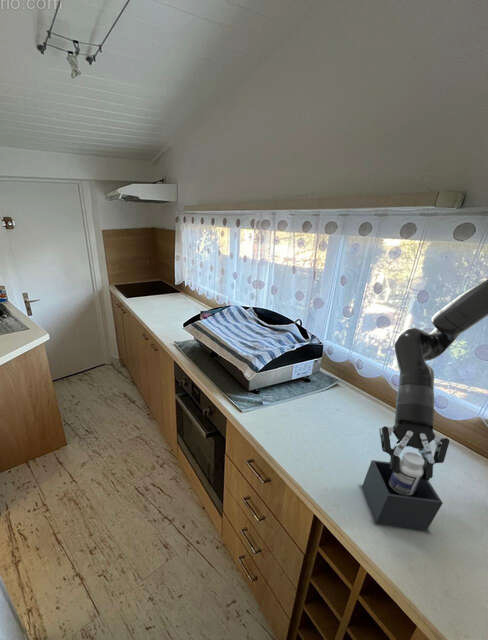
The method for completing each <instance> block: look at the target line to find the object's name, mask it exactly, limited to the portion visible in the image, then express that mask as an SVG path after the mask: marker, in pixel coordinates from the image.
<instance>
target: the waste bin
mask: <svg viewBox="0 0 488 640" xmlns="http://www.w3.org/2000/svg"><path fill="white" fill-rule="evenodd" d="M391 475H392V470H391V469H390V461H381V460H373V459H372V460H371V461H370V464H369V466H368V468H367V471H366V475H365V477H364V480H363V483H362V485H361V488H362V490H363V494H364V496H365V498H366V501H367V503H368V507H369V510H370V511H371V514H372V516H373V520H374V522H375V524H377V525H385V526H390V527H398V528H405V529H411V530H417V531H423V532H424V531H425V532H427V531H428V530H429V528H430V526H431V525H432V523H433V521H434V519H435V518H436V516H437V514H438V512H439V510H440V508H442V505H443V501H442V499H441V498H440V496H439V495H438V493H437V491H436V490H435V488H434V487H433V484H431V482H430V480H429V481H428V480H423V479H422V478H421V480H420V482H419V484H418V486H417V488H416V490H415V492H414V494H412V495H409V496H406V495H402V494H399V493H397V492H396V491H394V490H393V489H392V488H391V487H390V485H389V480H390V477H391Z"/></svg>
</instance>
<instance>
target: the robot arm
mask: <svg viewBox="0 0 488 640" xmlns="http://www.w3.org/2000/svg"><path fill="white" fill-rule="evenodd" d="M487 317H488V278H487V279H485V280H483V281H482V282H480V283H478V284H476V285H475V286H473V287H471V288H469V289H467V290H466V291H464V292H463V293H461V294H460V295H459V296H457V297H456V298H454V299H453V300H452V301H450V302H449V303H448V304H447V305H445V306H444V307H442V308H441V309H440V310H439V311H437V312H436V313H435V314H434V315H433V316H432V317H431V323H432V325H433V327H434V329H433V330H432V331H430V332H426V331H424V330H422V329H420V328H416V327H408V328H405V329H403V330H401V331H400V332H399V334H397V336H396V339H395V341H394V354H395V357H396V358H395V359H396V363H397V367H398V370H399V377H398V390H397V393H396V399H395V417H394V425H393V426H392V427H389V426H385V425H384V426H382V427H379V429H378V430H379V437H380V444H381V451H382V452H384V453H386V454H388V455H389V456H390V461H389V462H390V469H391V470H392V472H393V473H399V466H400V459H401V457H400V455H401V453H402V451H403V450H404V449H405V448H406V447H410V448H413V449H416V450H418V453H419V455H420V456H421V457H422V458H423V459H424V464H423V469H424V473H423V476H422V479H423V480H428V481H429V482H430V480H431V479H433V477H434V465H435V464H443V463H445V459H446V455H447V452H448V448H449V445H450V439H449V438H447V437H440V436H438V435H436V433H435V431H434V425H435V424H434V420H435V370H434V369H433V368H432V367H431V366H430V365H429V364H428V363H427V362H428V361H432V360H434V359H436V358H438V357H440V356H441V355H442V354H444V353H445V352H446V350H447V349H448V348H449V347H451V345H452V344H453V343H455V341H456V340H457V338H459V336H460V335H461V334H463V333H464V332H466V331H467V330H470V328H472V327H473V326H475V325H477V324H478V323H479V322H481V321H482V320H484V319H485V318H487ZM392 434H393V435H395V438H396V439H397V440H396V442H395V443H394V445H393V448H392V447H391V446H392V445H391V440H390V437H391V436H392ZM431 442H434V445H435V449H434V454H432V452H433V451H432V448H431V446H430V443H431Z"/></svg>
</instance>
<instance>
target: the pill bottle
mask: <svg viewBox="0 0 488 640" xmlns="http://www.w3.org/2000/svg"><path fill="white" fill-rule="evenodd" d="M423 464H424V459H423V458H422V456H421V455H420V454H417V453H415V452H410V451H407V452H405V453H404V454H403V456H402V457H400V466H399V473H393V472H392V475H391V477H390V480H389V485H390V487H391V488H392V489H393V490H394V491H396V492H397V493H399V494H402V495H406V496H409V495H412V494H414V492H415V490H416V488H417V486H418V484H419V482H420V480H421V478H422V476H423V473H424V469H423Z"/></svg>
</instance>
